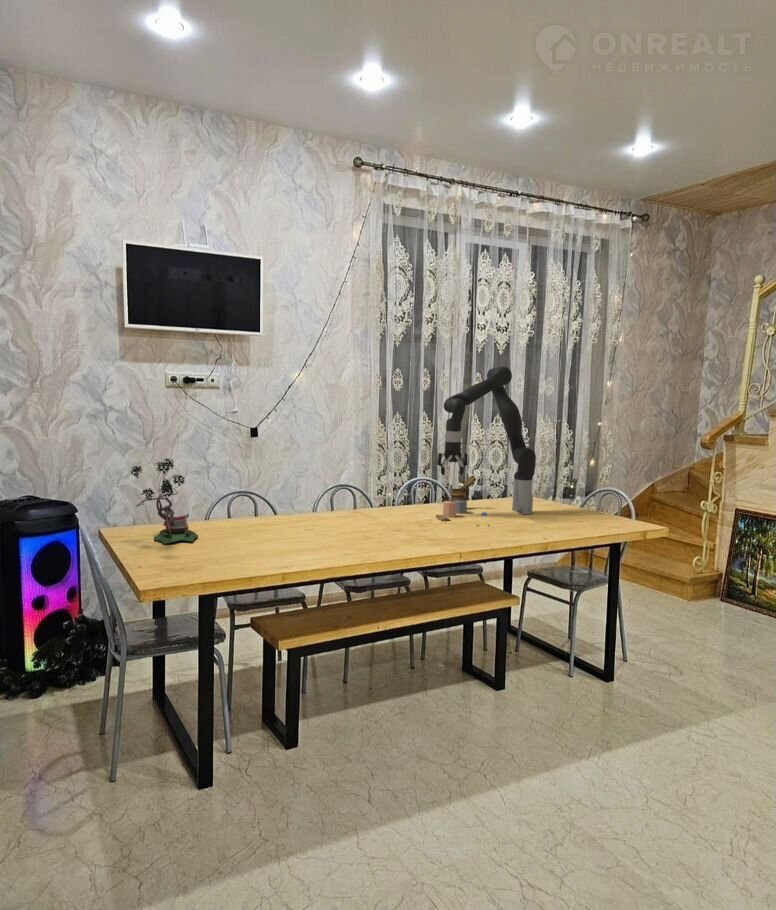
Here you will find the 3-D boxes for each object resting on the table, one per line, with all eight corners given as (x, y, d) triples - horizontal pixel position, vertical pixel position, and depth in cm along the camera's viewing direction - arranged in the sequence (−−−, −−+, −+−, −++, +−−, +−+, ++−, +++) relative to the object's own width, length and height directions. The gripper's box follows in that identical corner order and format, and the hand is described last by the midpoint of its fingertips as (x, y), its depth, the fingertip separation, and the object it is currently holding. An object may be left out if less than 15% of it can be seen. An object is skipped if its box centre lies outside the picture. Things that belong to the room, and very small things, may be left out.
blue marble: (486, 517, 340) (486, 511, 340) (488, 519, 337) (488, 512, 337) (480, 517, 339) (480, 511, 339) (482, 519, 336) (482, 512, 336)
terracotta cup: (453, 515, 336) (454, 500, 335) (457, 518, 330) (458, 503, 330) (441, 515, 335) (442, 500, 334) (445, 518, 329) (445, 503, 328)
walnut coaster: (456, 517, 339) (456, 514, 338) (462, 521, 329) (462, 518, 329) (435, 517, 337) (436, 514, 337) (441, 521, 327) (441, 518, 327)
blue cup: (463, 514, 347) (464, 500, 346) (467, 516, 341) (468, 502, 340) (452, 514, 345) (452, 500, 345) (455, 516, 340) (456, 502, 339)
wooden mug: (477, 512, 354) (479, 476, 352) (454, 513, 348) (456, 477, 346) (467, 508, 362) (469, 474, 360) (444, 510, 355) (446, 474, 353)
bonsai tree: (127, 534, 278) (127, 454, 275) (190, 530, 290) (190, 453, 287) (142, 555, 248) (142, 466, 244) (212, 549, 260) (213, 464, 256)
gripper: (465, 440, 337) (463, 473, 339) (436, 439, 334) (435, 473, 336) (470, 441, 329) (468, 476, 331) (440, 441, 326) (439, 476, 328)
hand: (451, 474), depth 333 cm, fingers open, 8 cm apart
